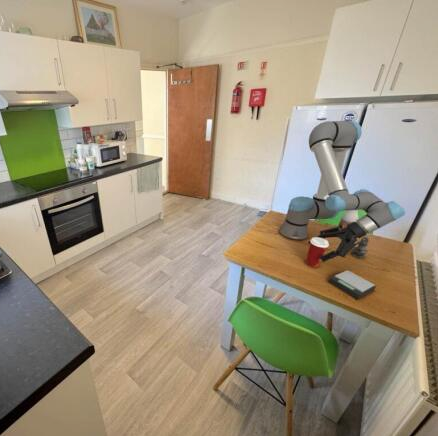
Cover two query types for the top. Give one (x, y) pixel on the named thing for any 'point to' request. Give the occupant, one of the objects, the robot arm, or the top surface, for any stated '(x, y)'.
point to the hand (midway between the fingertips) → (315, 251)
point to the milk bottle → (348, 217)
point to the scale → (352, 284)
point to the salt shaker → (361, 248)
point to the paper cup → (316, 251)
